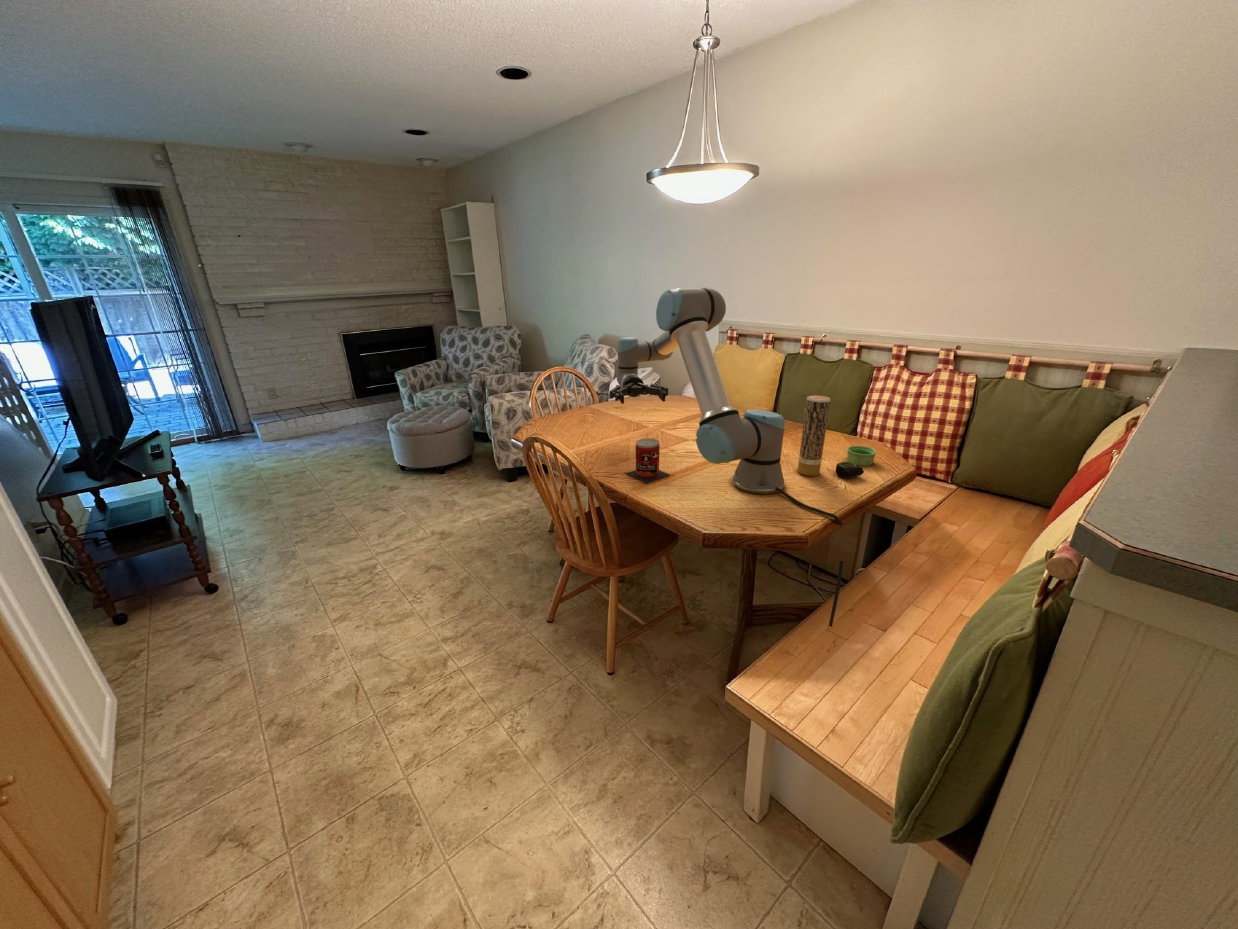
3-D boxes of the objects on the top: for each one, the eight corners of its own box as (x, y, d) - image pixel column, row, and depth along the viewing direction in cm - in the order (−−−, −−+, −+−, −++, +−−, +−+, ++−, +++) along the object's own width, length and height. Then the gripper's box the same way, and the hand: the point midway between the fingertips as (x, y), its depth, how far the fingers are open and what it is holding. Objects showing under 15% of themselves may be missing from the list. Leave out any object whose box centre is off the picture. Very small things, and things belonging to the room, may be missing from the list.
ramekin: (850, 466, 161) (852, 454, 159) (841, 457, 169) (843, 445, 168) (878, 467, 160) (880, 454, 158) (868, 457, 168) (870, 445, 167)
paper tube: (815, 469, 159) (826, 395, 150) (821, 477, 153) (833, 400, 144) (794, 468, 160) (804, 395, 151) (800, 476, 153) (810, 400, 144)
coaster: (669, 475, 156) (669, 474, 156) (646, 483, 150) (646, 482, 150) (648, 466, 163) (648, 465, 163) (626, 474, 158) (626, 473, 158)
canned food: (634, 477, 154) (633, 445, 150) (637, 468, 161) (637, 437, 157) (657, 479, 153) (658, 446, 148) (660, 469, 160) (660, 438, 156)
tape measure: (846, 481, 149) (848, 470, 148) (830, 473, 155) (831, 463, 154) (862, 478, 152) (865, 467, 150) (846, 470, 158) (848, 459, 156)
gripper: (665, 393, 177) (680, 407, 157) (598, 396, 174) (605, 411, 154) (665, 373, 174) (681, 385, 155) (597, 376, 171) (605, 388, 151)
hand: (643, 398), depth 154 cm, fingers open, 13 cm apart
